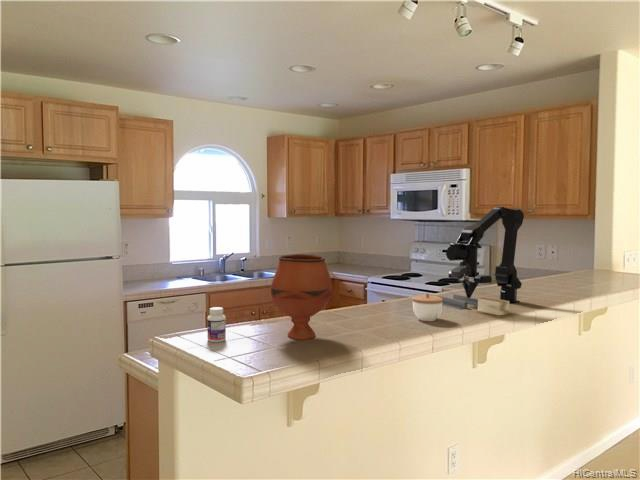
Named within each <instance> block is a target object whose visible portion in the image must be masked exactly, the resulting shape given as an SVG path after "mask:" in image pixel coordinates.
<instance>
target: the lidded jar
mask: <svg viewBox="0 0 640 480" xmlns="http://www.w3.org/2000/svg"><path fill="white" fill-rule="evenodd" d="M437 296H438V295H430V293H429V292H428V293H426V294H425V295H423V294H421V295H415V296H413V297H412V298H411V299H412V311H413V313H414V315H415V317H417V318H418V320H419V321H421V322H424V321H425V322H434V321H436V320H437V319H438V317H440V316H441V313H442V310H443V305H442V302H443V299H442V298H440V297H437Z"/></svg>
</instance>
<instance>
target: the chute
mask: <svg viewBox="0 0 640 480" xmlns="http://www.w3.org/2000/svg"><path fill="white" fill-rule="evenodd" d="M436 296H437V297H440V298H442V299H443V302H442V306H446V307H450V308H453V309H457V310H465V309H468V305H472V306H477V307H478V298H475V297H472V296H471V297H470V298H467V295H462V294H457V293H456V294H455V293H454V294H453V296H452V297H448V296H443V295H436Z"/></svg>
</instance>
